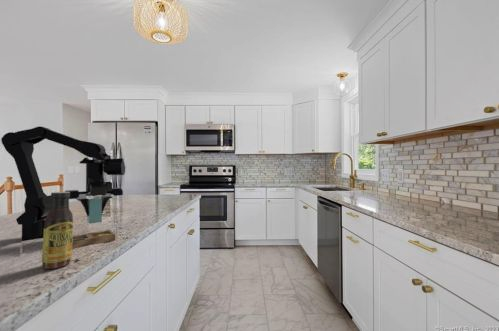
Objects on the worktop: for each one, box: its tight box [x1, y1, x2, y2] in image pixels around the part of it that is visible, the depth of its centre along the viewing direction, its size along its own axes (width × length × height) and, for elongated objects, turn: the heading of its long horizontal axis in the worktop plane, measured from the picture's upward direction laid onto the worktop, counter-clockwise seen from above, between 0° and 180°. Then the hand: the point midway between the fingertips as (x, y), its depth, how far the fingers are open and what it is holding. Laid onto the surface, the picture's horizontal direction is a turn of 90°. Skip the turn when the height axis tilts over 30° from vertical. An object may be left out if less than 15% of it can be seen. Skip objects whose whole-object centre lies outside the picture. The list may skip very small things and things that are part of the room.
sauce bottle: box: [41, 191, 74, 270], centre depth 63 cm, size 7×6×20 cm
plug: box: [86, 197, 103, 225], centre depth 90 cm, size 4×4×9 cm
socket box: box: [72, 229, 116, 249], centre depth 81 cm, size 14×8×3 cm, turn 134°
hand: (94, 215), depth 90 cm, fingers closed on plug, 4 cm apart
